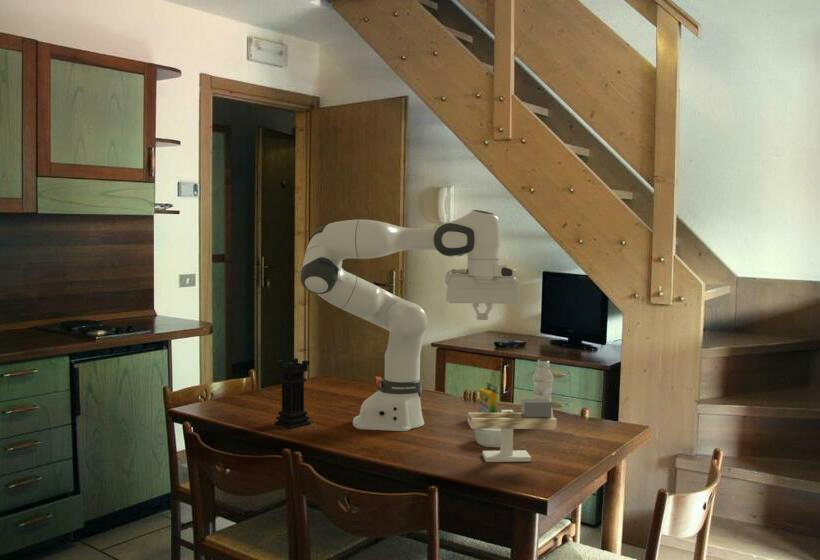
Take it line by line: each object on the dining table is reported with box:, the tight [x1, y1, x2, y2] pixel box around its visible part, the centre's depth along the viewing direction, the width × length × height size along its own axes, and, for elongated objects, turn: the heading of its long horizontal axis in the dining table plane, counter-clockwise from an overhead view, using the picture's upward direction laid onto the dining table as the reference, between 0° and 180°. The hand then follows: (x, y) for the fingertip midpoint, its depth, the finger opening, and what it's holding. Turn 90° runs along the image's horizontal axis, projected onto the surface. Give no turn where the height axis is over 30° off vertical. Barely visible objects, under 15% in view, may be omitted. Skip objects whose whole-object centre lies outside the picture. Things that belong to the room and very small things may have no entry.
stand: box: [482, 409, 532, 463], centre depth 202 cm, size 12×6×13 cm, turn 94°
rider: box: [520, 398, 553, 418], centre depth 196 cm, size 7×4×5 cm, turn 94°
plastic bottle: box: [532, 359, 554, 416], centre depth 239 cm, size 6×7×20 cm
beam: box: [467, 411, 558, 430], centre depth 196 cm, size 22×7×3 cm, turn 94°
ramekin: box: [474, 429, 501, 448], centre depth 216 cm, size 11×11×5 cm
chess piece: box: [274, 357, 312, 430], centre depth 233 cm, size 8×8×20 cm
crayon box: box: [479, 382, 498, 413], centre depth 241 cm, size 7×3×12 cm, turn 20°
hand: (482, 319), depth 207 cm, fingers closed
